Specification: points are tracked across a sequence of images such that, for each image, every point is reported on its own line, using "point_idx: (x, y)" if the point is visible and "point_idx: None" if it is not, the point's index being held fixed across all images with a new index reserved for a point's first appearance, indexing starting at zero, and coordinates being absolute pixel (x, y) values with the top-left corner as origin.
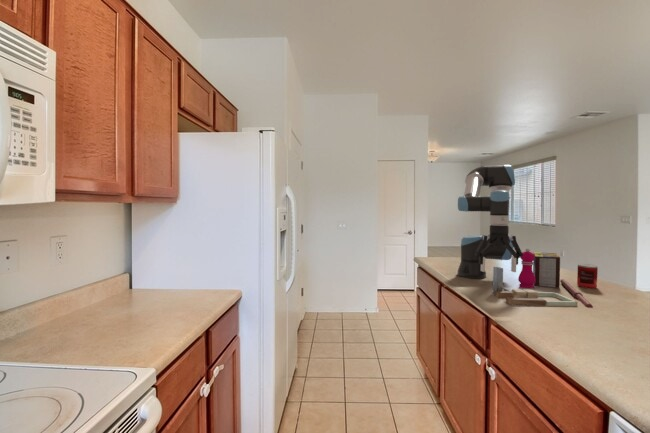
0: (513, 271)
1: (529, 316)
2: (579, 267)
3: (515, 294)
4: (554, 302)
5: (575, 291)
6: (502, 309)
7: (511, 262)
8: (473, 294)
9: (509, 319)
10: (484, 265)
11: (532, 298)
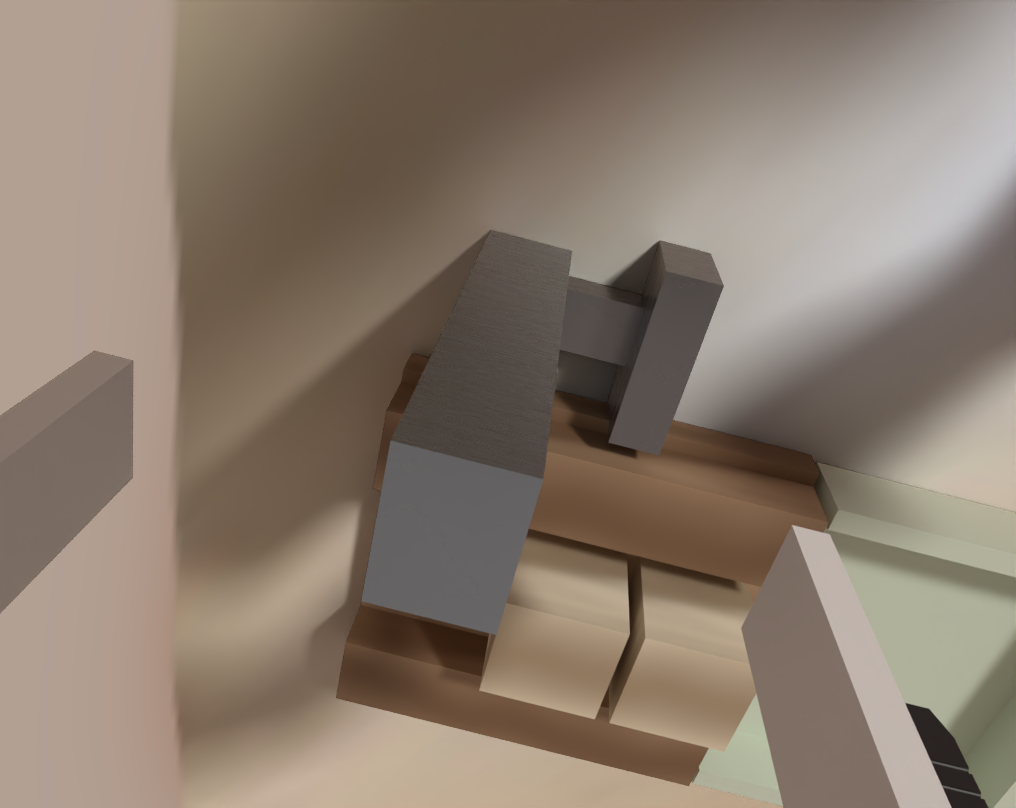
0: (755, 610)
1: (376, 793)
2: None
3: (490, 641)
4: (761, 793)
5: None
6: (262, 652)
7: (852, 688)
8: (214, 164)
9: (191, 793)
10: (29, 565)
11: (608, 721)
